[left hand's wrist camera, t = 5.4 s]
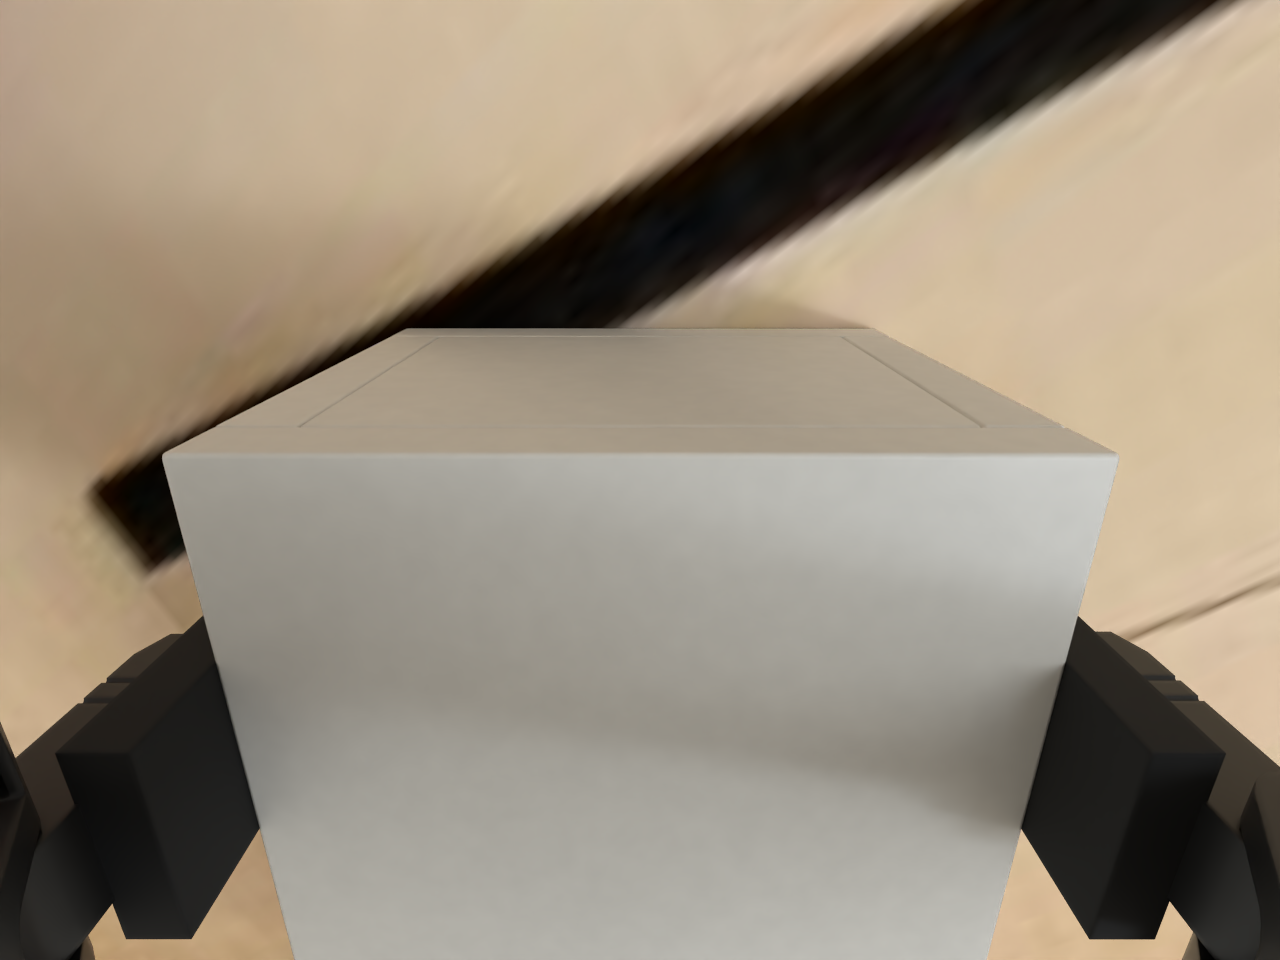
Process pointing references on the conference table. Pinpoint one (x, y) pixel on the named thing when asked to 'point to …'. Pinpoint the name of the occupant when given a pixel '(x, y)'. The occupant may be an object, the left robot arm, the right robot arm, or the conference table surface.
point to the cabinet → (640, 641)
